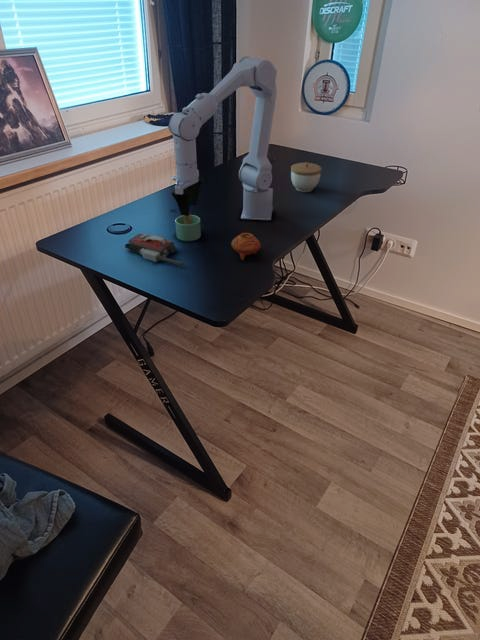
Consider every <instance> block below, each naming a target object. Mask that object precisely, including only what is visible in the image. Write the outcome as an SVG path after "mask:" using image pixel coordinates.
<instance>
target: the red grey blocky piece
mask: <svg viewBox="0 0 480 640" xmlns="http://www.w3.org/2000/svg"><path fill="white" fill-rule="evenodd" d="M124 248H125V249H128V250H129V252H132V253H137V254H139V255H142V257H143V259H144V260H148V261H152V262H153V263H158V262H166V263H168V264H173V265H178V266H179V265H180V266H184V262H183V261H179V260H175V259H173V258H168V256H169V255H170V254H172V253H175V250H176V246H175V241H173V240H169V239H166V238H165V237H162V236H158V235H155V234H153V235H149V234H145V233H138V234H136V235H134V236H133V237H131V238H130V239H129V240H128V243H125V244H124Z"/></svg>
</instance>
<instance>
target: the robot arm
mask: <svg viewBox="0 0 480 640" xmlns="http://www.w3.org/2000/svg"><path fill="white" fill-rule="evenodd" d="M277 73H278V70H277V69H276V67H275V66H274V64H273V62H271V61H270V60H267V59H261V58H260V59H259V58H254V57H250V56H243V57H241V58H240V59H239V60H238V61H236V62H235V63H234V64H233V66H232V68H231V70H230V71H229V72H228V73H227V74H226V75H225V76H224V77H223V79H221V80H220V81H219V82H218V84H216V86H215V87H214V88H213V89H212V90H211V91H210V92H208V93H207V92H202V93H198V94H196V95H195V99H194V100H193V101H191V102H190V103H189V104H188V105H187V106H184V107H183V108H182V111H181V112H176V113H174V114H172V116H171V117H170V119H169V124H167V128H168V131H169V132H170V134H171V135H172V140H173V149H174V161H175V173H176V175H174V176H173V177H172V180H173V181H175V186H174V188H173V189H172V190H171V196H172V197H173V199H174V200H175V202H176V204H177V207H178V210H179V213H180V216H182V215H185V216H188V215H189V211H190V212H191V206H197V205H198V202H199V197H200V192H201V187H202V185H203V183H204V179H203V178H199V177H200V170H199V169H198V161H197V160H198V159H197V158H198V157H197V142H196V138H197V137H198V136H199V134H200V130H201V128H202V126H203V125H205V123H207V122H208V120H210V119H211V118H212V117H213V116H214V115H215V114H216V113H217V112H218V105H219V104H220V103H222V102H223V101H224V100H226V99H227V98H228V97H229V96H230V95H232V94H233V93H234V92H235V91H238V89H239V88H242V87H243V88H244V87H245V88H247V87H248V88H249V89H250V90H251V92H252V93H253V95H254V96H255V104H254V111H253V120H252V127H251V134H250V141H249V150H248V154H247V155H246V156H245V157H244V158H242V163H241V166H240V168H239V170H238V179H239V180H240V182H242V187H243V193H242V194H243V198H242V200H243V201H242V202H243V203H242V204H243V205H242V207H243V208H242V212H241V215H240V219H241V220H255V221H272V216H273V215H272V214H273V212H274V206H273V199H274V189H273V188H271V185H272V181H273V173H272V169H273V165H272V164H271V162H270V160H269V159H268V151H269V147H270V146H269V145H270V140H271V133H272V127H273V119H274V114H275V113H274V112H275V106H276V101H277V93H278V92H277V82H276V80H277Z"/></svg>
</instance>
